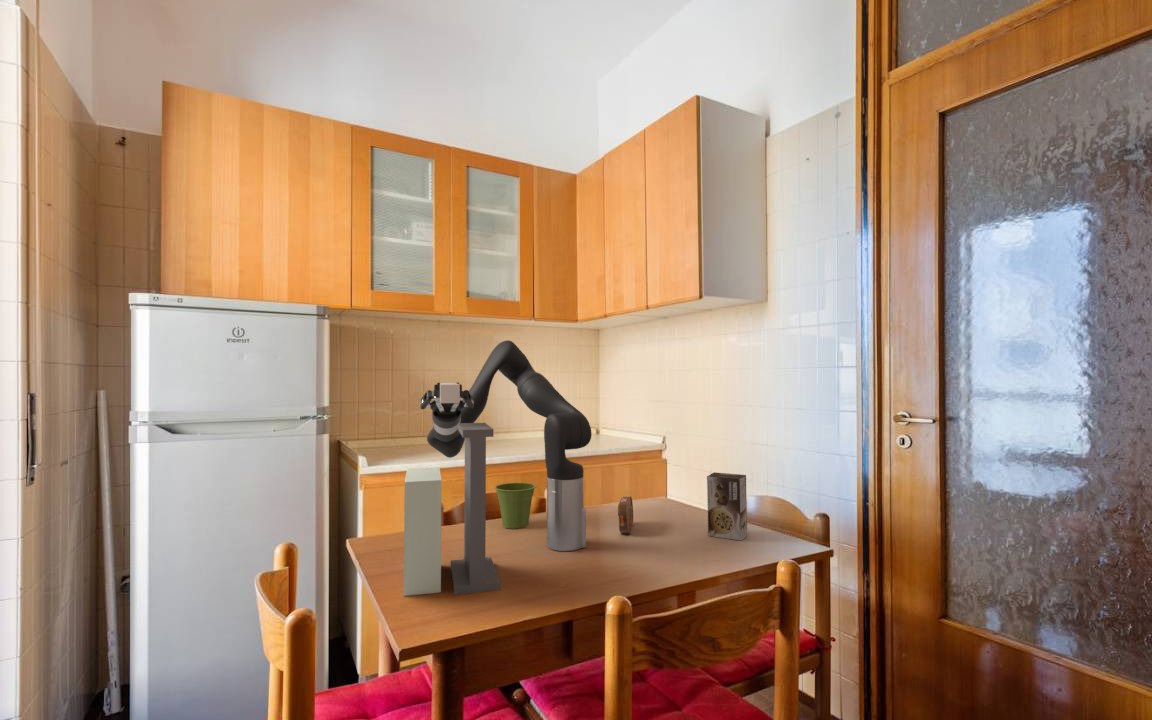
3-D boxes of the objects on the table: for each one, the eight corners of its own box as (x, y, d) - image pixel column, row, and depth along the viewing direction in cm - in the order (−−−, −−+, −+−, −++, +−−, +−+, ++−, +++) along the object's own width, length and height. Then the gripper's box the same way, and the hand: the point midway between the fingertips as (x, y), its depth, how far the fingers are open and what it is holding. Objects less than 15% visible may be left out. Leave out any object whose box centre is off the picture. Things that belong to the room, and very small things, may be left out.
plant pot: (536, 520, 162) (536, 481, 163) (535, 531, 151) (535, 490, 151) (496, 520, 162) (496, 482, 162) (492, 532, 150) (492, 490, 150)
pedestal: (438, 565, 124) (439, 467, 124) (440, 592, 108) (441, 480, 109) (406, 568, 122) (407, 468, 122) (403, 596, 106) (404, 482, 107)
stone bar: (455, 398, 141) (455, 382, 141) (459, 403, 119) (459, 384, 120) (439, 398, 140) (439, 383, 140) (440, 403, 118) (440, 384, 118)
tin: (628, 537, 145) (628, 505, 145) (616, 537, 146) (616, 505, 146) (634, 522, 160) (634, 493, 160) (623, 522, 160) (623, 493, 161)
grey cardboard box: (748, 535, 147) (747, 474, 147) (741, 541, 141) (740, 478, 142) (714, 530, 152) (714, 471, 152) (706, 535, 146) (706, 475, 147)
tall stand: (491, 563, 125) (491, 422, 126) (500, 589, 109) (500, 429, 110) (450, 567, 122) (451, 423, 123) (454, 594, 107) (455, 430, 108)
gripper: (419, 404, 148) (418, 372, 134) (472, 403, 151) (477, 372, 137) (418, 429, 144) (417, 399, 130) (473, 428, 148) (478, 399, 133)
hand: (448, 386), depth 134 cm, fingers closed on stone bar, 4 cm apart
